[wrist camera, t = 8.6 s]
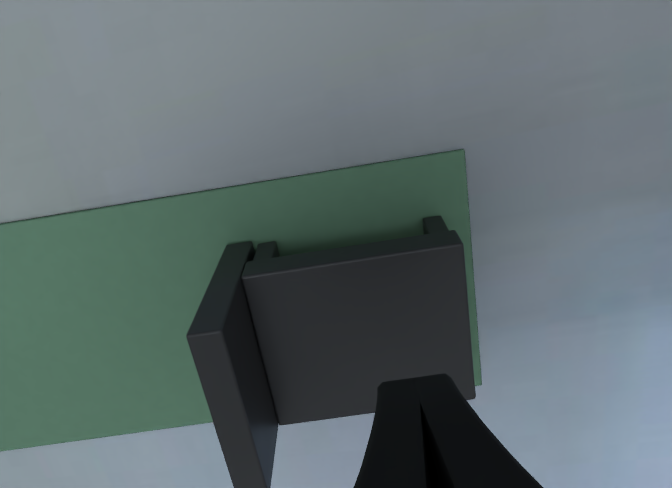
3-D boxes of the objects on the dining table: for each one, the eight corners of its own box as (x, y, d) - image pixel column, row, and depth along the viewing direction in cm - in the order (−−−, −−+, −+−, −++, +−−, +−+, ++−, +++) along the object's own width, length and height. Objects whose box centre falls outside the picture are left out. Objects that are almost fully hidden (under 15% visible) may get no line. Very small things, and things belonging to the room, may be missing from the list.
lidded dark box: (261, 378, 22) (237, 502, 17) (225, 244, 20) (184, 335, 14) (458, 350, 22) (502, 468, 16) (445, 209, 20) (491, 290, 14)
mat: (463, 148, 19) (464, 149, 19) (480, 382, 23) (482, 385, 23) (-453, 296, 21) (-459, 299, 21) (-294, 489, 25) (-299, 492, 25)
